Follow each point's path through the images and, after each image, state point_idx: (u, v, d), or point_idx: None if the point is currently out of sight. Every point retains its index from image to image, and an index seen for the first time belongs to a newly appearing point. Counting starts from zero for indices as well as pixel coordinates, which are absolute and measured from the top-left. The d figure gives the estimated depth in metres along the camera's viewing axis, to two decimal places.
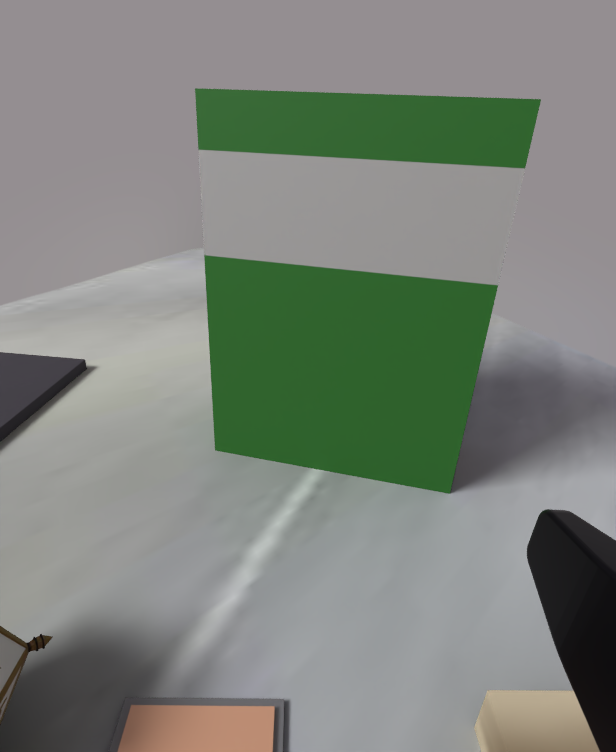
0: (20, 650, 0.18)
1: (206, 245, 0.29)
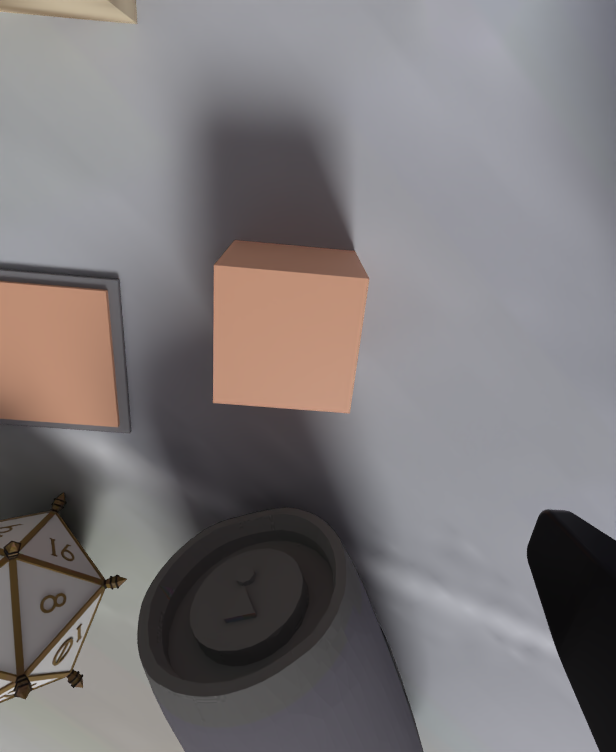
0: None
1: None
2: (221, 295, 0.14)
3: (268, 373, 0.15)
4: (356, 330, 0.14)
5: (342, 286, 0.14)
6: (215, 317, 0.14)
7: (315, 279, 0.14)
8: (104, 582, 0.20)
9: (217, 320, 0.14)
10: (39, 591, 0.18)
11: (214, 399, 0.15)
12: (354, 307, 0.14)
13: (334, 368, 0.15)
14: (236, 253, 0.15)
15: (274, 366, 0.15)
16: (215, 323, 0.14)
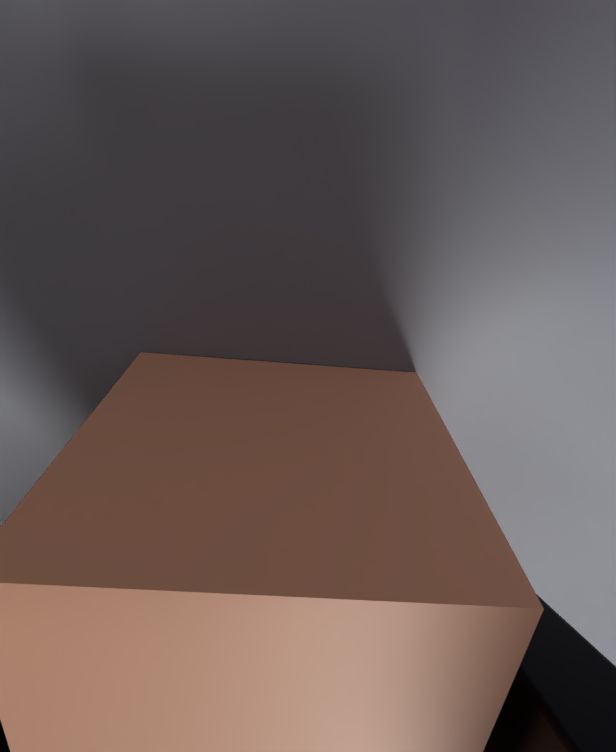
0: None
1: None
2: (9, 658, 0.04)
3: None
4: (475, 726, 0.04)
5: (442, 630, 0.04)
6: (2, 710, 0.04)
7: (348, 614, 0.04)
8: None
9: (12, 714, 0.04)
10: None
11: None
12: (476, 679, 0.04)
13: None
14: (107, 439, 0.05)
15: None
16: (9, 722, 0.04)
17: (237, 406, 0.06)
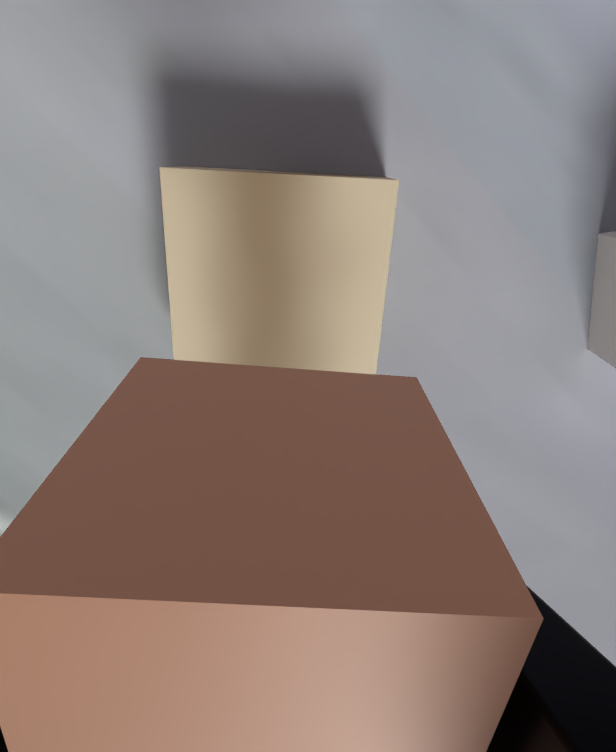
0: None
1: None
2: (10, 668, 0.04)
3: None
4: (475, 734, 0.04)
5: (442, 640, 0.04)
6: (3, 719, 0.04)
7: (348, 623, 0.04)
8: None
9: (13, 723, 0.04)
10: None
11: None
12: (477, 687, 0.04)
13: None
14: (107, 446, 0.05)
15: None
16: (8, 732, 0.04)
17: (237, 412, 0.06)
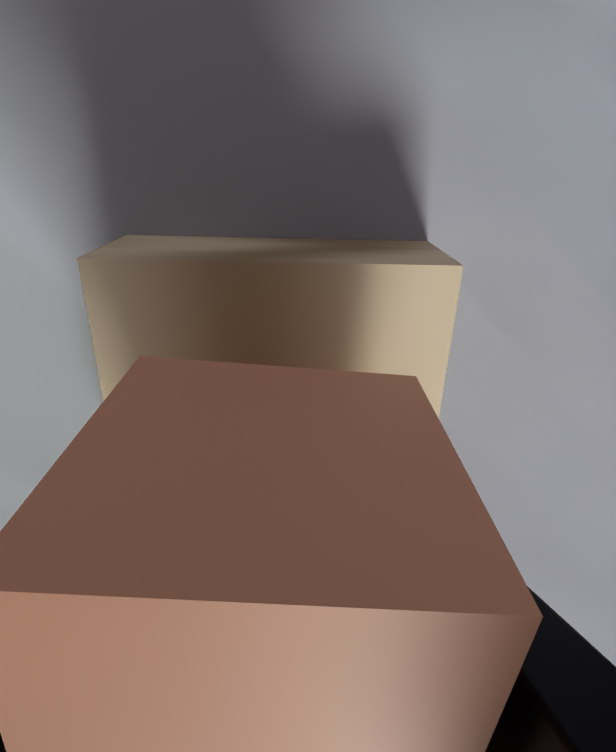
0: None
1: None
2: (7, 666, 0.04)
3: None
4: (474, 733, 0.04)
5: (441, 638, 0.04)
6: (0, 718, 0.04)
7: (347, 621, 0.04)
8: None
9: (11, 721, 0.04)
10: None
11: None
12: (476, 686, 0.04)
13: None
14: (106, 445, 0.05)
15: None
16: (7, 730, 0.04)
17: (236, 411, 0.06)
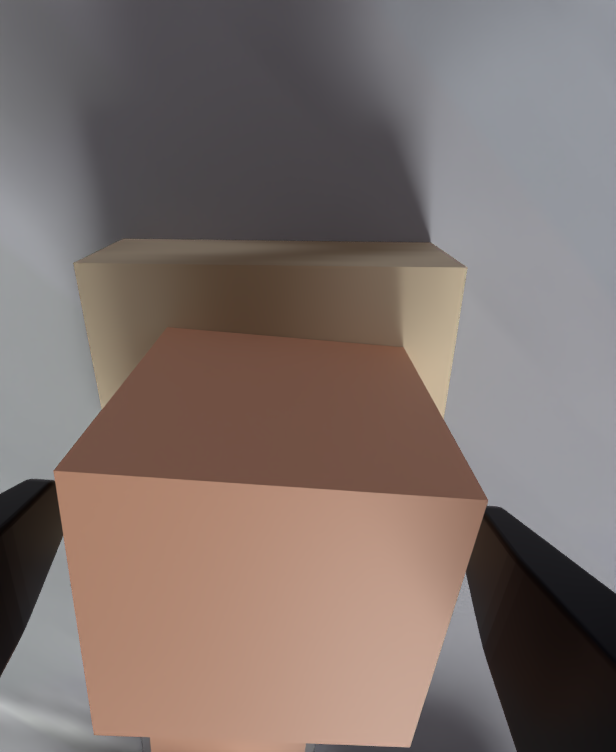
0: None
1: None
2: (84, 538, 0.05)
3: (219, 686, 0.06)
4: (440, 605, 0.06)
5: (412, 517, 0.05)
6: (75, 584, 0.05)
7: (342, 502, 0.05)
8: None
9: (82, 589, 0.05)
10: None
11: (95, 731, 0.07)
12: (441, 561, 0.05)
13: (380, 675, 0.06)
14: (149, 388, 0.07)
15: (234, 673, 0.06)
16: (78, 596, 0.06)
17: (252, 368, 0.08)
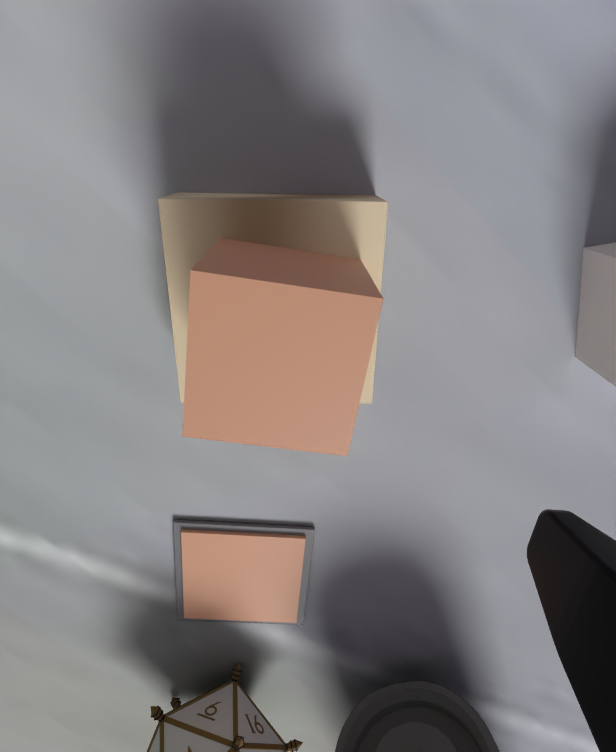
0: (168, 728, 0.24)
1: None
2: (198, 308, 0.11)
3: (251, 405, 0.12)
4: (362, 359, 0.12)
5: (349, 306, 0.11)
6: (189, 334, 0.11)
7: (317, 296, 0.11)
8: (286, 747, 0.26)
9: (192, 338, 0.12)
10: None
11: (184, 432, 0.13)
12: (362, 332, 0.12)
13: (332, 403, 0.12)
14: (220, 255, 0.13)
15: (259, 397, 0.12)
16: (189, 342, 0.12)
17: (272, 256, 0.14)
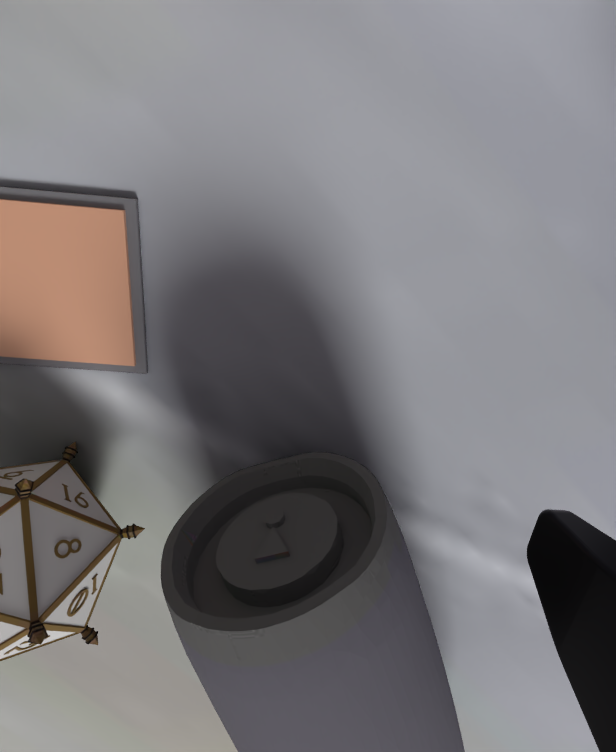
0: None
1: None
2: None
3: None
4: None
5: None
6: None
7: None
8: (120, 531, 0.19)
9: None
10: (52, 535, 0.17)
11: None
12: None
13: None
14: None
15: None
16: None
17: None
